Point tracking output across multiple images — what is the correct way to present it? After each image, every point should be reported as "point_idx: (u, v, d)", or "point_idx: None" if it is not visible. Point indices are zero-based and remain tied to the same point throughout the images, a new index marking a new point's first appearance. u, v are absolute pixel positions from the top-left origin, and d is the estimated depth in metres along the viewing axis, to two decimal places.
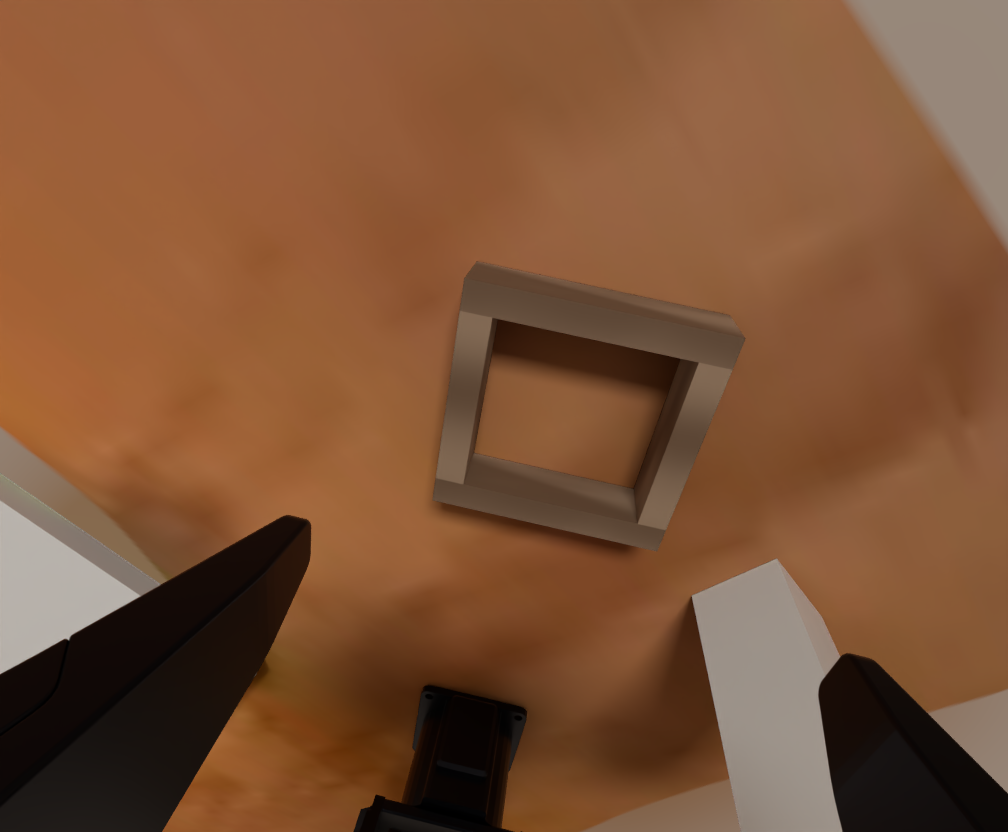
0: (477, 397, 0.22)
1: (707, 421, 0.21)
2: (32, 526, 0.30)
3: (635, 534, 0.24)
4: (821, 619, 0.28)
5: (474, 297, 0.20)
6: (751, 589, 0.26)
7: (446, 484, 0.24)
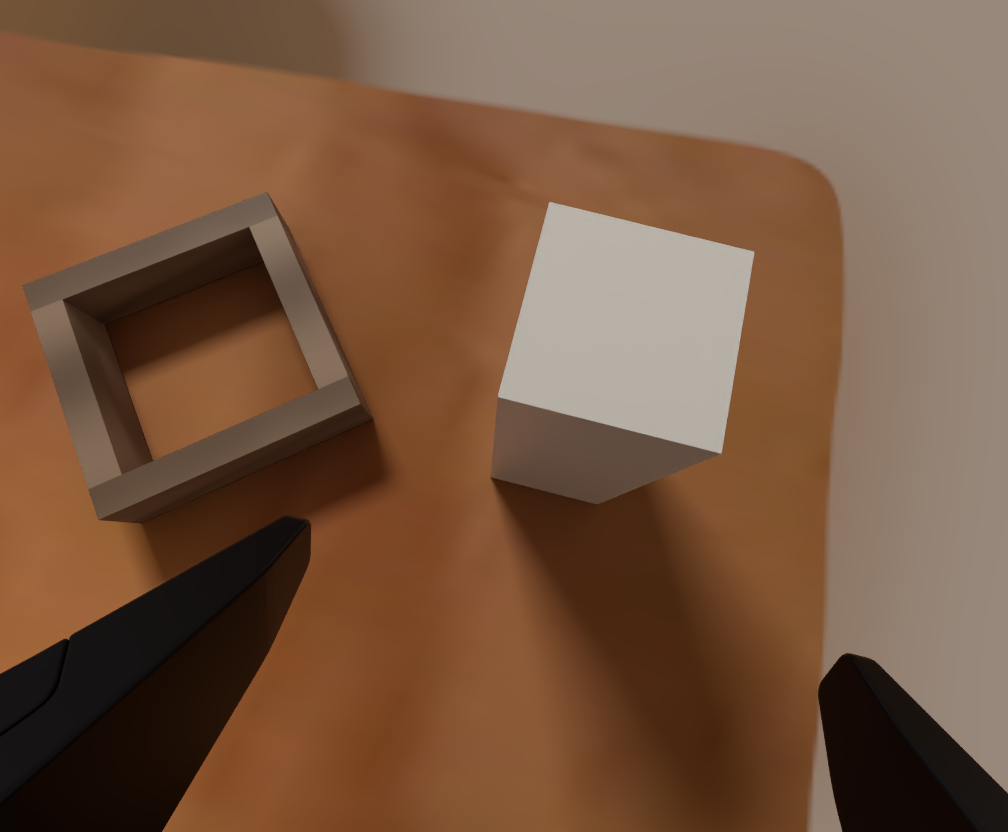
0: (86, 374, 0.21)
1: (294, 261, 0.22)
2: None
3: (325, 401, 0.21)
4: None
5: (38, 293, 0.22)
6: None
7: (103, 488, 0.20)
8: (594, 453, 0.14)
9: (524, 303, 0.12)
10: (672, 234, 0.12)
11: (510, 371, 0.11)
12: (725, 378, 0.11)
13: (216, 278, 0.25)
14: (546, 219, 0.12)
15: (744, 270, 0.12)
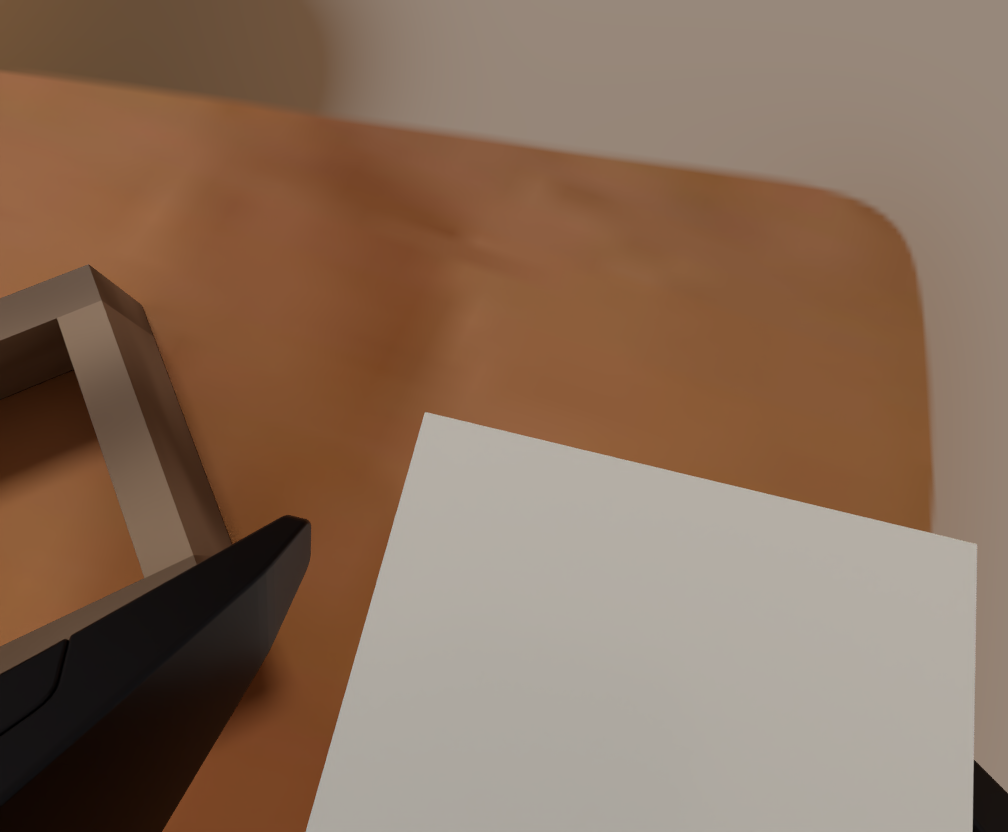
0: None
1: (121, 370, 0.15)
2: None
3: None
4: None
5: None
6: None
7: None
8: None
9: (337, 741, 0.04)
10: (755, 498, 0.04)
11: None
12: None
13: (31, 383, 0.17)
14: (415, 463, 0.04)
15: (956, 600, 0.04)
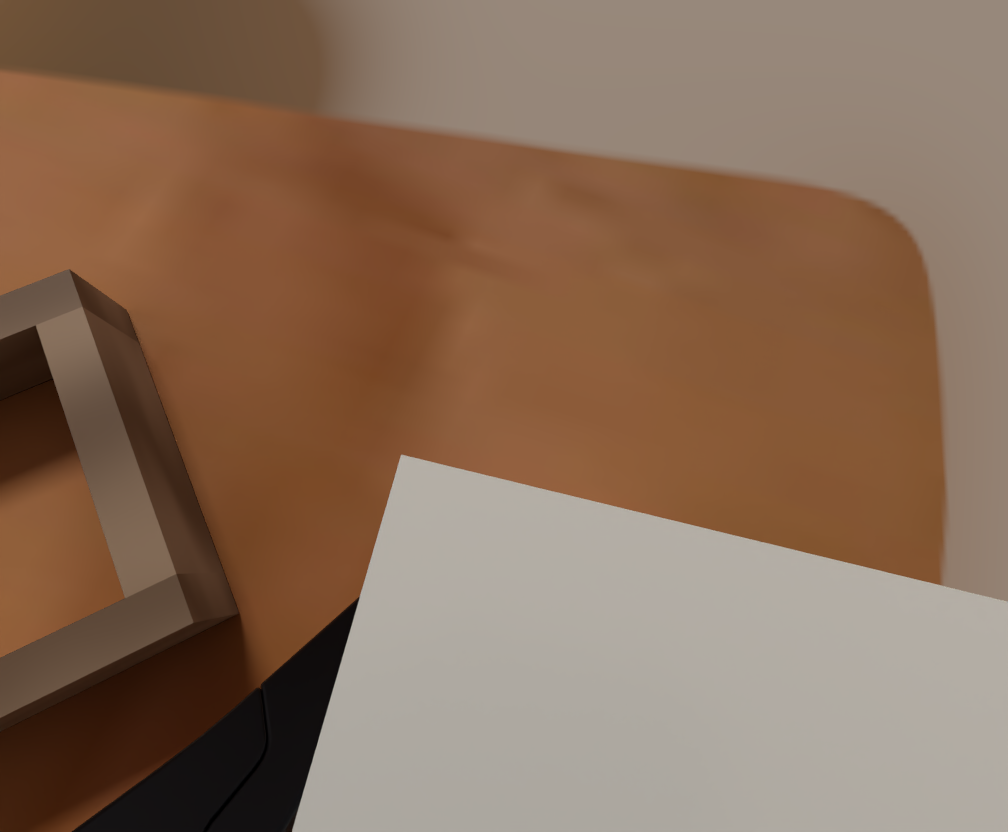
0: None
1: (102, 380, 0.14)
2: None
3: (134, 620, 0.13)
4: None
5: None
6: None
7: None
8: None
9: None
10: (783, 558, 0.04)
11: None
12: None
13: (12, 391, 0.17)
14: (390, 515, 0.04)
15: None
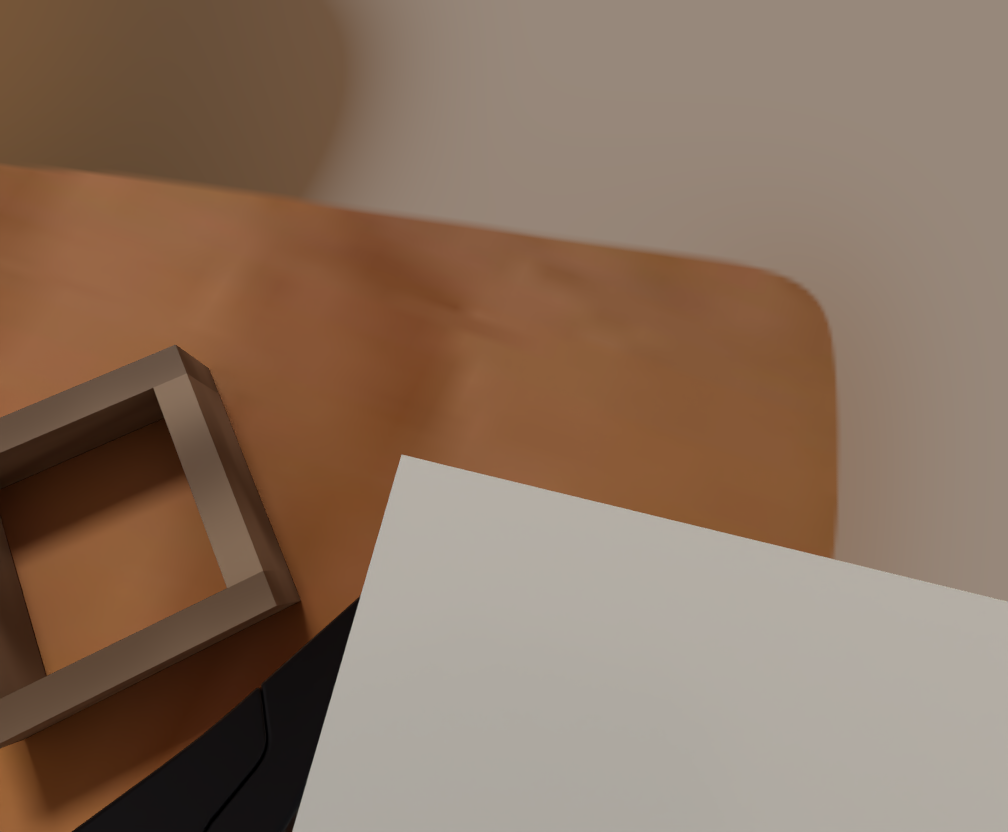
0: None
1: (204, 429, 0.19)
2: None
3: (234, 603, 0.18)
4: None
5: None
6: None
7: None
8: None
9: None
10: (782, 556, 0.04)
11: None
12: None
13: (124, 432, 0.22)
14: (389, 514, 0.04)
15: None
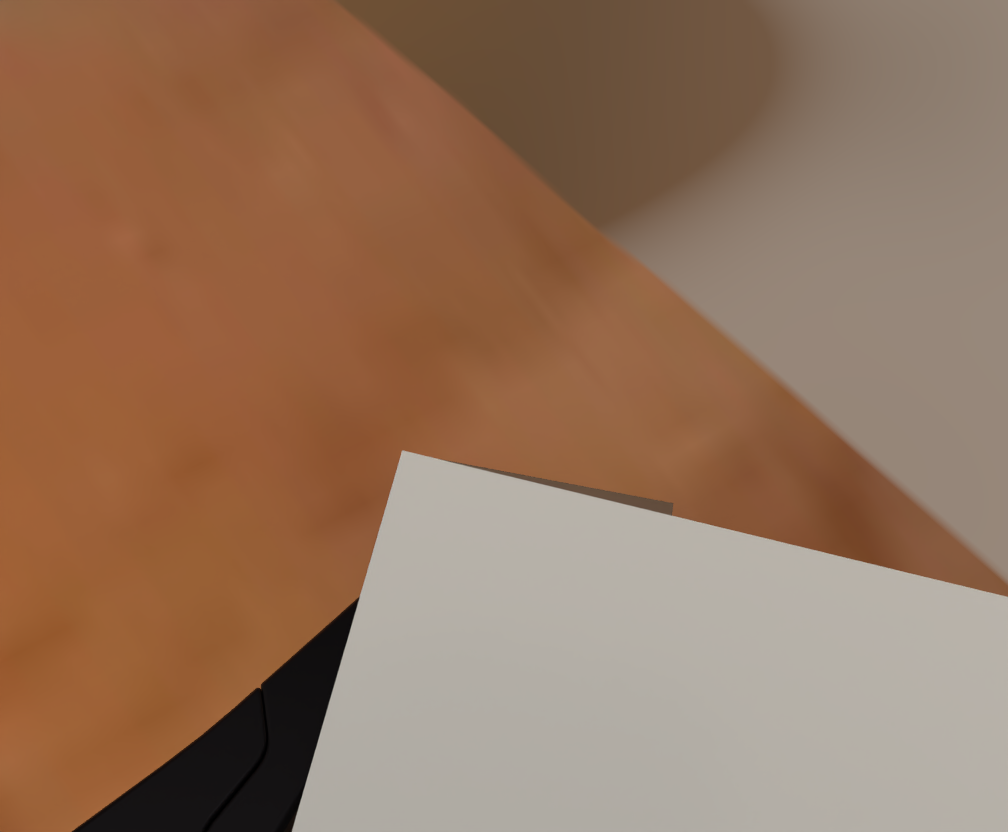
0: None
1: None
2: None
3: None
4: None
5: None
6: None
7: None
8: None
9: None
10: (783, 552, 0.04)
11: None
12: None
13: None
14: (391, 510, 0.04)
15: None
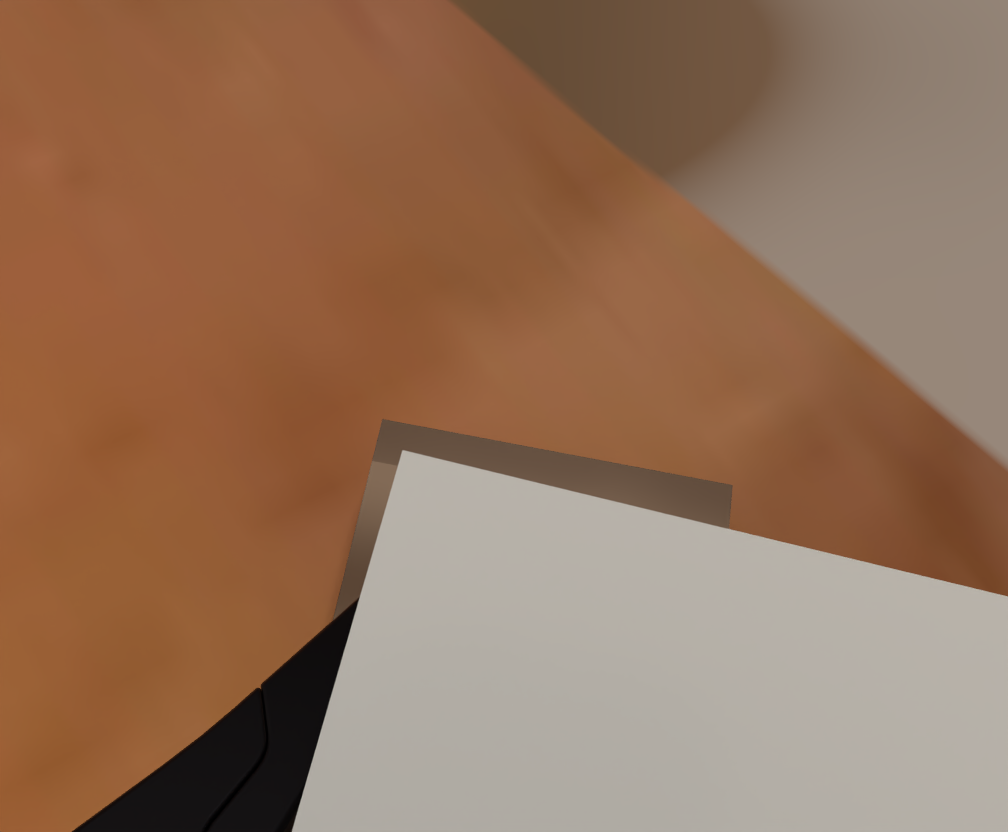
0: None
1: None
2: None
3: None
4: None
5: (393, 443, 0.16)
6: None
7: None
8: None
9: None
10: (784, 554, 0.04)
11: None
12: None
13: None
14: (391, 510, 0.04)
15: None
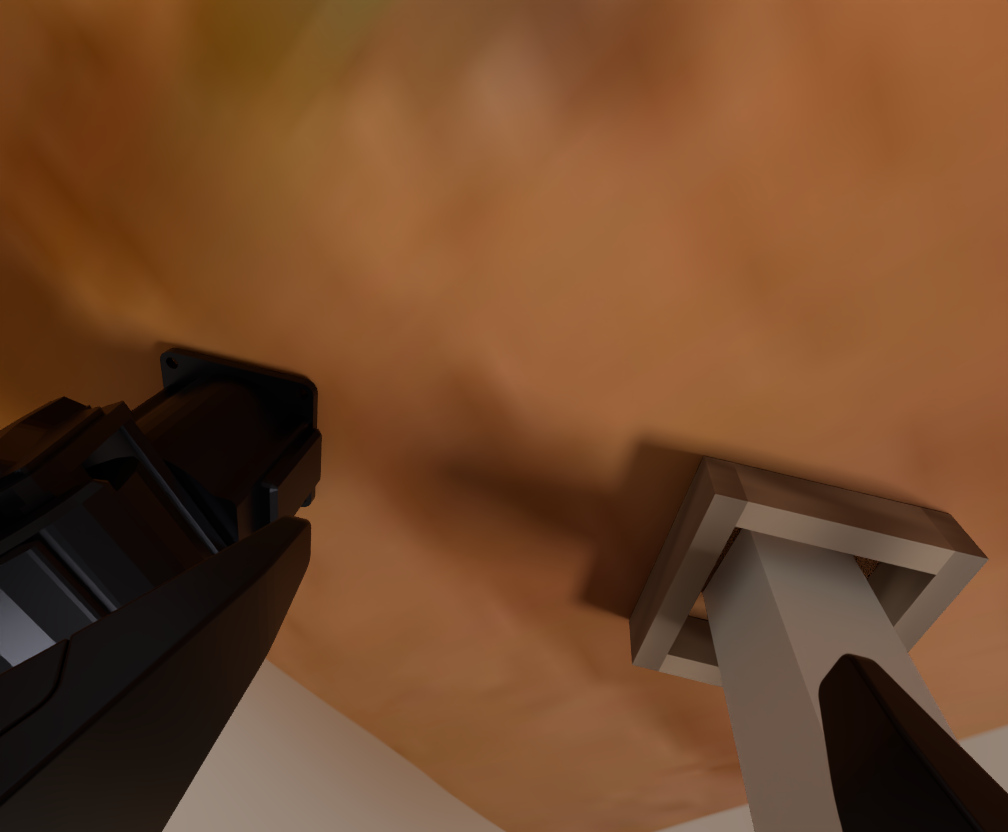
0: (847, 552, 0.21)
1: None
2: None
3: (654, 652, 0.25)
4: None
5: (964, 564, 0.20)
6: (822, 558, 0.23)
7: (737, 510, 0.21)
8: (783, 792, 0.17)
9: None
10: None
11: None
12: None
13: None
14: None
15: None
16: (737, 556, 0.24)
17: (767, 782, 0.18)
